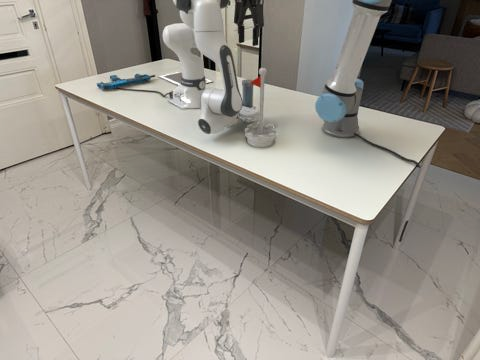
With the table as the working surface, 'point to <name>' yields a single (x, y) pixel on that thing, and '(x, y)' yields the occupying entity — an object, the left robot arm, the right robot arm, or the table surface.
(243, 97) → the jar
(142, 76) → the submachine gun
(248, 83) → the lid
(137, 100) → the table surface
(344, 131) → the right robot arm
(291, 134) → the table surface
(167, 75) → the tablet
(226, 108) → the left robot arm
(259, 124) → the flag stand
